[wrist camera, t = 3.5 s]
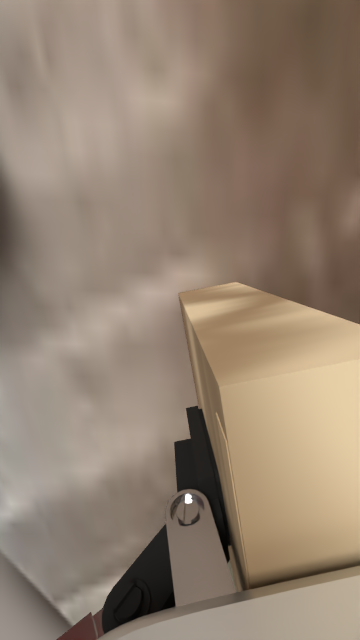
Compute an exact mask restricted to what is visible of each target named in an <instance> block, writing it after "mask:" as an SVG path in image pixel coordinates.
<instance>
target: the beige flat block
mask: <svg viewBox="0 0 360 640" xmlns="http://www.w3.org/2000/svg"><path fill="white" fill-rule="evenodd" d="M178 294H179V300H180V305H181V311H182V316H183V322H184V327H185V333H186V338H187V344H188V350H189V355H190V361H191V366H192V372H193V377H194V383H195V388H196V394H197V399H198V405H199V409H202V411H203V414H204V418H205V422H206V426H207V430H208V434H209V437H210V441H211V445H212V449H213V453H214V457H215V461H216V464H217V468H218V472H219V477H220V482H221V488H222V494H223V499H224V505H225V511H226V517H227V523H228V528H229V534H230V540H231V546H228V550H229V555H230V563H231V568H232V572H233V577H234V581H235V586H236V590H237V592H241V591H246V590H250V589H255V588H259V587H264V586H268V585H273V584H277V583H282V582H286V581H291V580H295V579H300V578H305V577H309V576H314V575H319V574H323V573H328V572H333V571H337V570H342V569H347V568H352V567H356V566H360V325H359V324H356V323H354V322H351V321H348V320H345V319H342V318H339V317H336V316H333V315H330V314H327V313H324V312H322V311H319V310H316V309H313V308H310V307H307V306H304V305H301V304H298V303H295V302H292V301H290V300H287V299H284V298H281V297H278V296H275V295H272V294H269V293H266V292H263V291H260V290H258V289H255V288H252V287H249V286H246V285H243V284H240V283H237V282H234V283H229V284H224V285H218V286H213V287H208V288H202V289H197V290H192V291H186V292H181V293H178Z"/></svg>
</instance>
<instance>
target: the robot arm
mask: <svg viewBox="0 0 360 640" xmlns="http://www.w3.org/2000/svg"><path fill="white" fill-rule="evenodd" d="M186 411H187V417H188V423H189V430H190V436H191V439H187V440H182V441H177V442H174V446H175V461H176V477H177V493H176V494H175V495H174V496H172V497H171V499H170V500H169V501H168V503H167V506H166V509H165V519H166V524H165V525H164V526H163V528H162V529H161V530H160V531H159V533H158V534H157V535H156V536H155V537H154V539H153V540H152V541H151V542H150V543H149V545H148V546H147V547H146V548H145V550H144V551H143V552H142V553H141V554H140V556H139V557H138V558H137V559H136V560H135V562H134V563H133V564H132V565H131V567H130V568H129V569H128V570H127V571H126V573H125V574H124V575H123V576H122V577H121V579H120V580H119V581H118V582H117V584H116V585H115V586H114V587H113V589H112V590H111V592H110V593H109V595H108V596H107V599H106V601H105V604H104V607H103V608H102V609H101V610H100V611H98V612H97V613H96V614H95V615H94V616H92V613H91V612H90V613H89V614H88V615H87V616H85V617H84V618H83V619H82V620H80V621H79V622H78V623H77V624H75V625H74V626H73V627H72V628H70V629H69V630H68V631H67V632H65V633H64V634H63V635H62V636H60V637H59V638H58V639H57V640H360V566H356V567H352V568H347V569H342V570H337V571H333V572H328V573H323V574H319V575H314V576H309V577H305V578H300V579H295V580H291V581H286V582H282V583H277V584H273V585H268V586H264V587H259V588H255V589H250V590H246V591H241V592H236V591H235V587H234V584H233V581H232V577H231V574H230V571H229V568H228V562H229V560H230V555H229V550H228V546H231V540H230V534H229V528H228V523H227V517H226V511H225V505H224V499H223V494H222V488H221V482H220V477H219V472H218V468H217V464H216V461H215V457H214V453H213V449H212V445H211V441H210V437H209V434H208V430H207V426H206V422H205V418H204V414H203V411H202V409H198V406H195V407H190V408H186Z"/></svg>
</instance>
